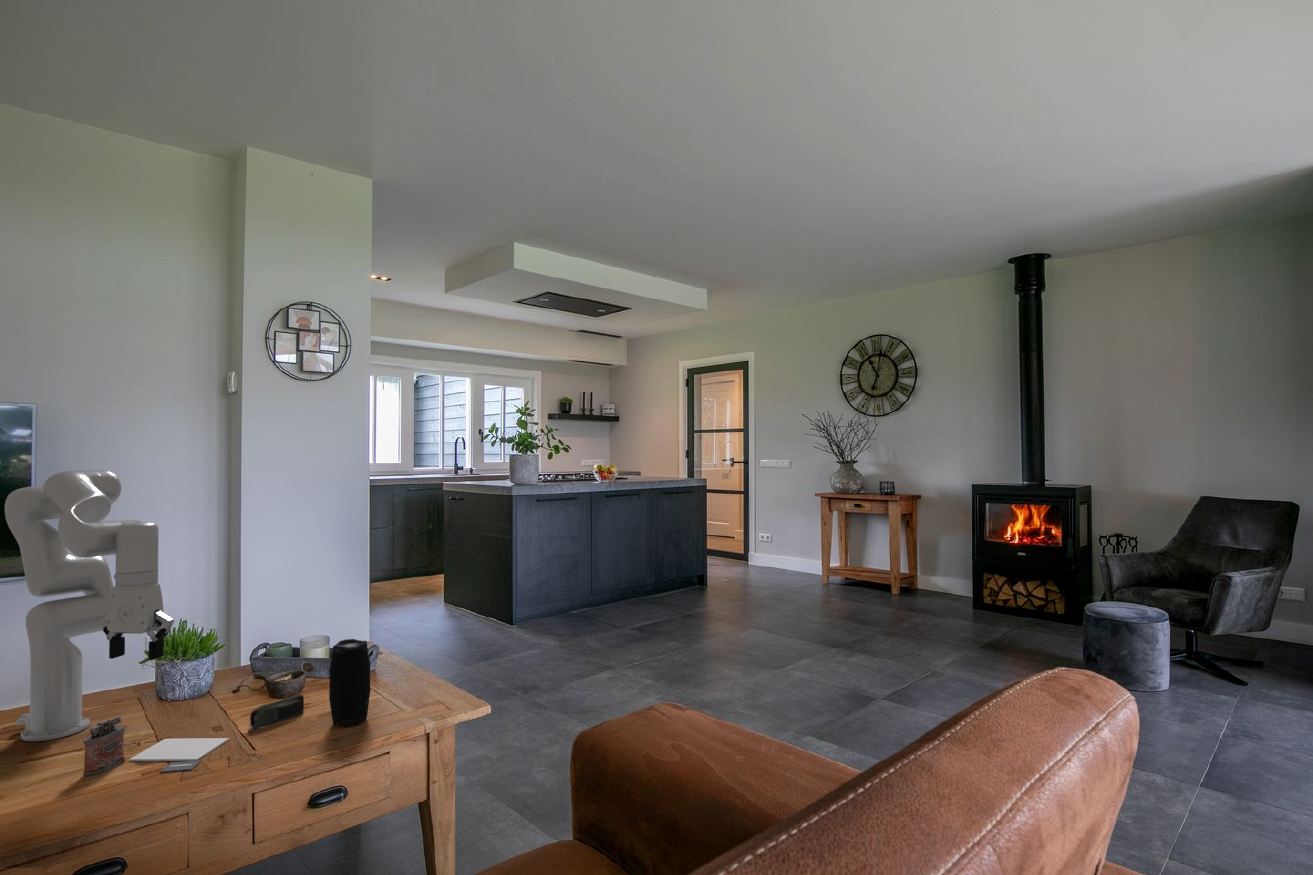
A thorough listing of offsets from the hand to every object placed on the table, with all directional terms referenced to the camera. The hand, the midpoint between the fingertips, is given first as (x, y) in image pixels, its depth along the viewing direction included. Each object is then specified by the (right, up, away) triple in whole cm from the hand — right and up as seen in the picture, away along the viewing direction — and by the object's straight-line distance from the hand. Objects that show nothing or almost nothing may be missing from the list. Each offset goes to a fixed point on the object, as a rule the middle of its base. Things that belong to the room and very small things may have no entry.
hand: (136, 657), depth 151 cm
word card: (+13, -22, -4) cm, 26 cm away
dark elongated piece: (+19, -23, +21) cm, 36 cm away
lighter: (-3, -22, -4) cm, 23 cm away
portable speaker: (+38, -23, +20) cm, 48 cm away
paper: (+7, -22, +4) cm, 24 cm away
